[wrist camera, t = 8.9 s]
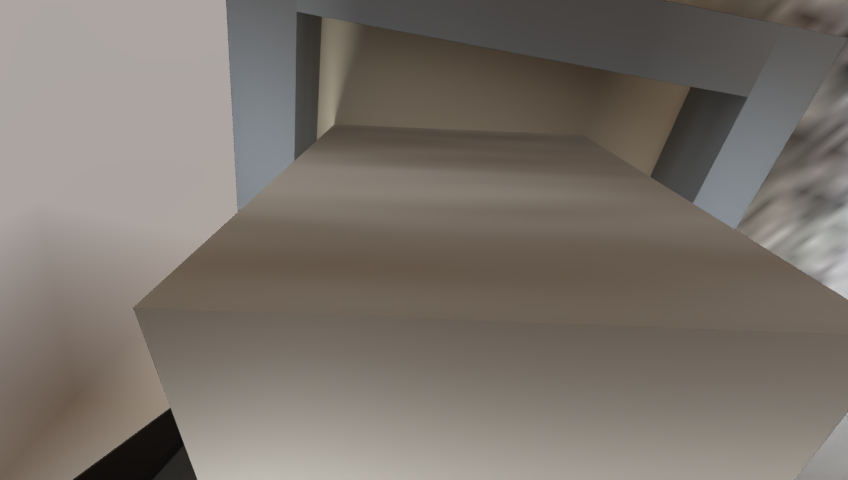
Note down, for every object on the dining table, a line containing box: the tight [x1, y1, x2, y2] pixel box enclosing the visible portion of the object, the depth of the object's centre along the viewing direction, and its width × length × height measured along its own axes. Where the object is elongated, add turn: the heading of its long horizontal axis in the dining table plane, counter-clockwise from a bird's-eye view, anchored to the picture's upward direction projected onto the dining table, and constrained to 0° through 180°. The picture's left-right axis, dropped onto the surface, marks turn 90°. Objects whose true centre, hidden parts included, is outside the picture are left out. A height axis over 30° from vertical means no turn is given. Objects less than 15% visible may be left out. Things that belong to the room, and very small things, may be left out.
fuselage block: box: [133, 125, 848, 480], centre depth 8 cm, size 11×5×6 cm, turn 178°
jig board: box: [226, 0, 848, 229], centre depth 10 cm, size 16×9×2 cm, turn 170°
